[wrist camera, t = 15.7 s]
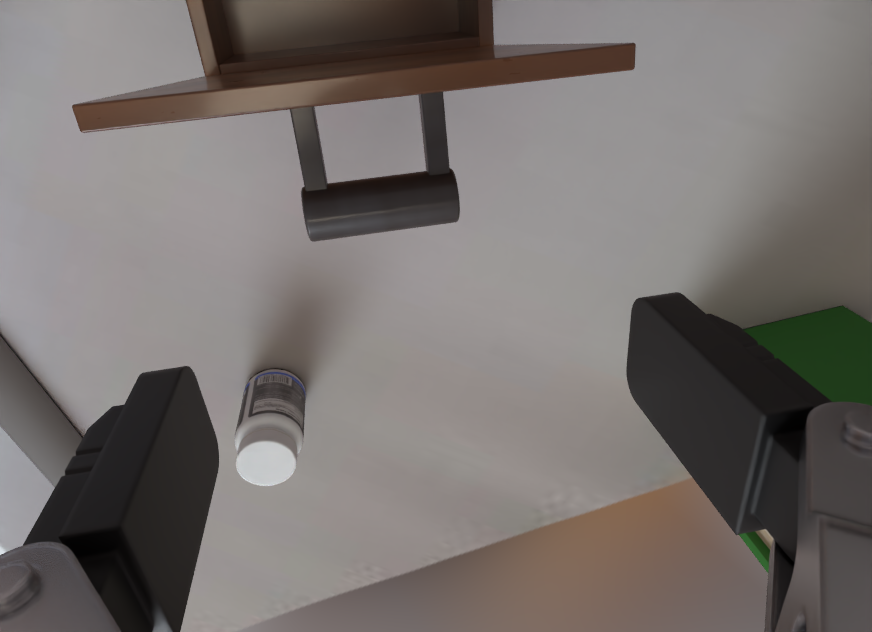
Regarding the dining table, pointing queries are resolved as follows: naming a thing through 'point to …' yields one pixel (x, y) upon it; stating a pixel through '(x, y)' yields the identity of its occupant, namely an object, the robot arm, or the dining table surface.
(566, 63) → the lid
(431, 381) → the dining table surface
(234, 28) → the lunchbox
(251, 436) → the pill bottle
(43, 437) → the gray half cylinder
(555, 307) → the dining table surface
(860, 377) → the hardback book
